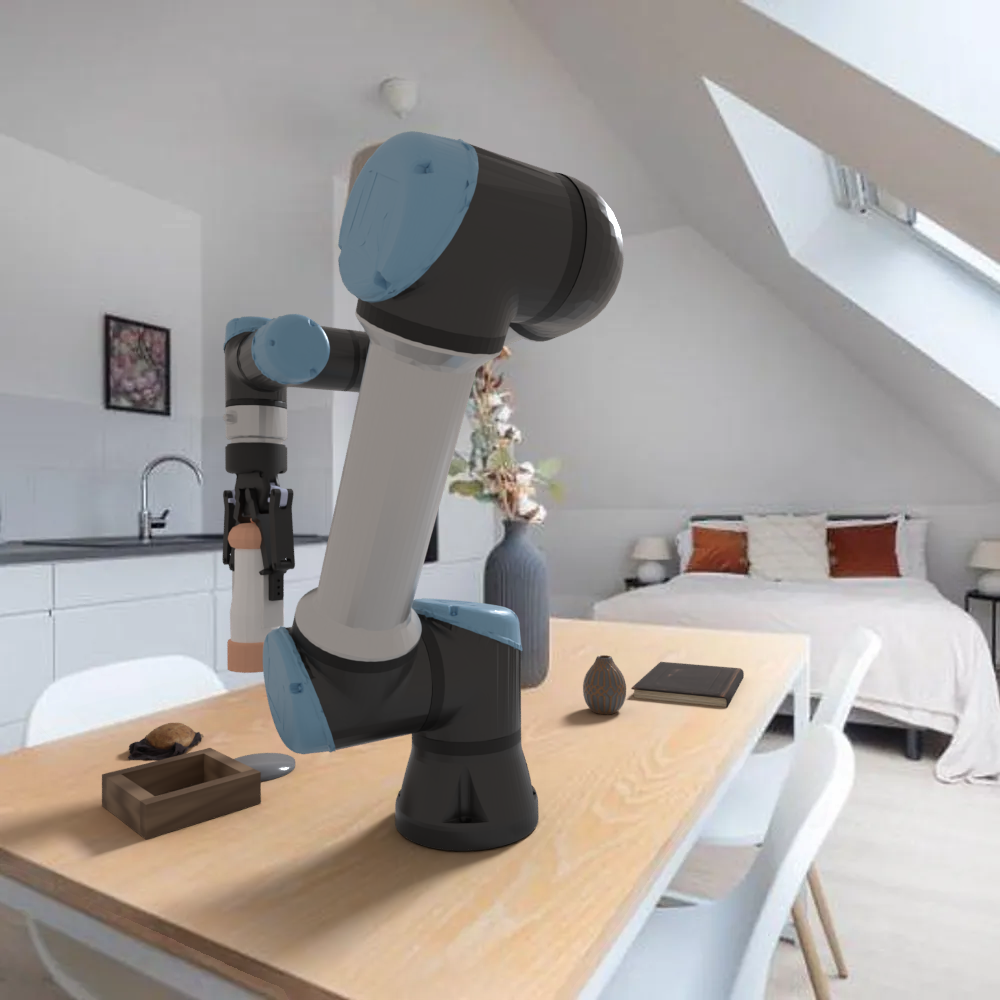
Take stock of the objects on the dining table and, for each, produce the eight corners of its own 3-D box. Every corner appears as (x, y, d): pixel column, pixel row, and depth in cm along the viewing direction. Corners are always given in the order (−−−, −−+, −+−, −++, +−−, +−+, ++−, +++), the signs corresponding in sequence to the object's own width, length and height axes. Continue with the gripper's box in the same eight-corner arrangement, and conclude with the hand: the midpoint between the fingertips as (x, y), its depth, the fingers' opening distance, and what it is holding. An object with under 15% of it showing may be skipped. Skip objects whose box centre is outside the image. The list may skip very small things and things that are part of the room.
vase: (634, 710, 121) (634, 656, 121) (610, 719, 116) (609, 663, 116) (599, 703, 126) (599, 650, 126) (574, 711, 121) (574, 657, 121)
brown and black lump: (151, 740, 109) (150, 715, 110) (209, 739, 110) (209, 713, 110) (117, 765, 99) (116, 737, 99) (182, 763, 99) (181, 735, 99)
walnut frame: (260, 803, 84) (260, 772, 84) (146, 839, 75) (145, 804, 75) (210, 775, 93) (210, 747, 93) (101, 805, 84) (101, 774, 84)
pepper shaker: (222, 674, 91) (222, 516, 91) (231, 662, 98) (231, 515, 98) (284, 671, 93) (284, 516, 93) (289, 659, 100) (288, 515, 100)
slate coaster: (308, 768, 95) (308, 763, 95) (242, 788, 89) (242, 783, 89) (272, 752, 102) (272, 748, 102) (207, 770, 95) (207, 765, 95)
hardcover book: (631, 700, 129) (631, 687, 129) (660, 673, 150) (660, 661, 150) (727, 710, 123) (727, 696, 123) (743, 680, 144) (743, 668, 144)
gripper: (193, 445, 100) (194, 619, 100) (268, 435, 86) (269, 636, 86) (246, 448, 105) (247, 612, 105) (325, 439, 92) (326, 628, 91)
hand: (257, 623), depth 96 cm, fingers closed on pepper shaker, 7 cm apart
